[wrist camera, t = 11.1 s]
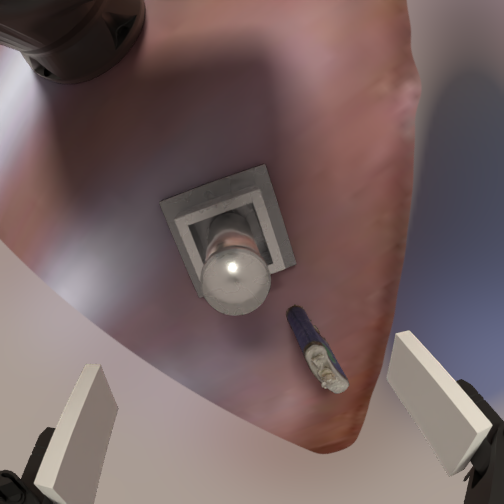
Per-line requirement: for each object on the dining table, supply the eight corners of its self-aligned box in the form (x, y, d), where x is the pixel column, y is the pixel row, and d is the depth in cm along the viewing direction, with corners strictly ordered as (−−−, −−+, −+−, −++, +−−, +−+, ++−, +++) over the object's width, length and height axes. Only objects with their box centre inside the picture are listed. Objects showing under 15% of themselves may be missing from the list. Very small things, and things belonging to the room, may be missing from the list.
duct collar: (160, 201, 34) (151, 209, 30) (264, 163, 34) (271, 166, 30) (199, 295, 38) (197, 314, 34) (295, 261, 38) (305, 277, 34)
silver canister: (209, 257, 36) (204, 320, 23) (205, 213, 34) (195, 254, 21) (254, 253, 36) (273, 314, 23) (251, 209, 35) (271, 248, 22)
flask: (331, 346, 43) (358, 397, 33) (313, 357, 43) (336, 410, 33) (299, 300, 40) (324, 349, 30) (279, 313, 40) (298, 365, 30)
